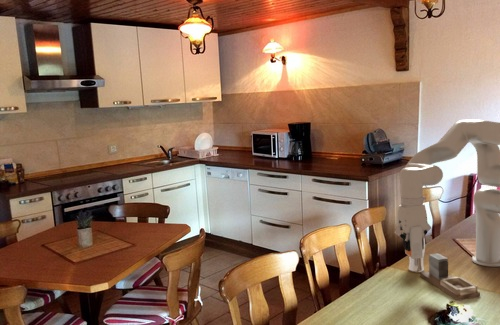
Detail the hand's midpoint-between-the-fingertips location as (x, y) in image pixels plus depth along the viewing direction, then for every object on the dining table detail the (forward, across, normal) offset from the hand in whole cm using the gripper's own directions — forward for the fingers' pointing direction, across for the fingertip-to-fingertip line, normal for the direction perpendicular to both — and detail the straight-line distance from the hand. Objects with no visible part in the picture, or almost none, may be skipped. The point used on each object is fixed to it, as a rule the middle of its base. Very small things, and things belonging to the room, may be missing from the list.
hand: (413, 248), depth 163 cm
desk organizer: (+16, -13, +1) cm, 21 cm away
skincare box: (+3, 0, 0) cm, 3 cm away
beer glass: (+17, -11, -17) cm, 26 cm away
